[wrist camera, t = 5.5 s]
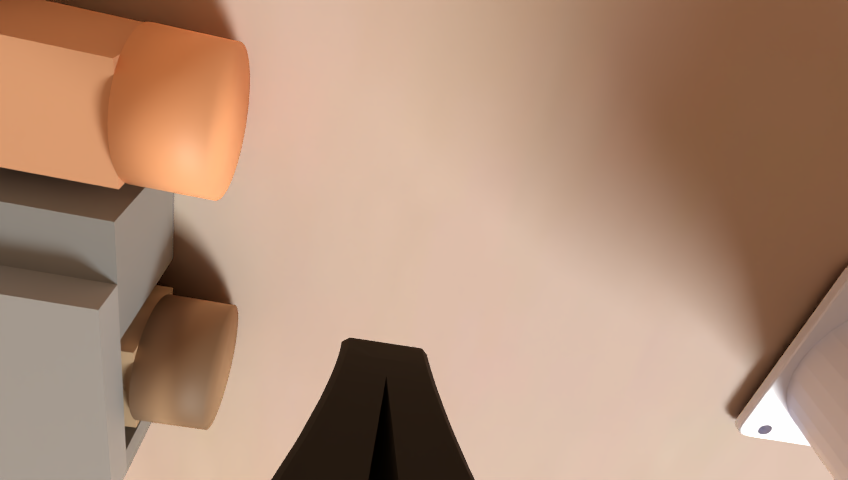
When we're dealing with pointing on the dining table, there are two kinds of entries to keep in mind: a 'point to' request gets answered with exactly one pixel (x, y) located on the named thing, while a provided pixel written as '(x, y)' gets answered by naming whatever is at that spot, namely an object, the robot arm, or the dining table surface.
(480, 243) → the dining table surface
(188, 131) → the orange knob
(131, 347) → the walnut knob
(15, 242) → the box
